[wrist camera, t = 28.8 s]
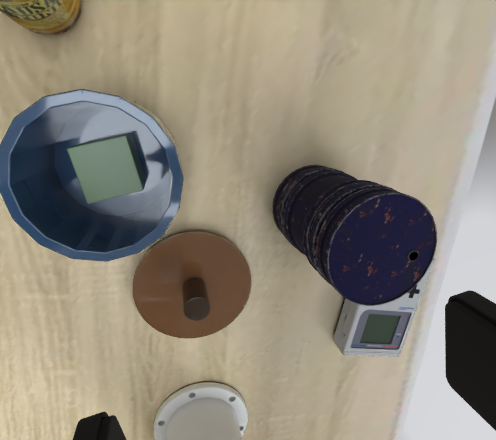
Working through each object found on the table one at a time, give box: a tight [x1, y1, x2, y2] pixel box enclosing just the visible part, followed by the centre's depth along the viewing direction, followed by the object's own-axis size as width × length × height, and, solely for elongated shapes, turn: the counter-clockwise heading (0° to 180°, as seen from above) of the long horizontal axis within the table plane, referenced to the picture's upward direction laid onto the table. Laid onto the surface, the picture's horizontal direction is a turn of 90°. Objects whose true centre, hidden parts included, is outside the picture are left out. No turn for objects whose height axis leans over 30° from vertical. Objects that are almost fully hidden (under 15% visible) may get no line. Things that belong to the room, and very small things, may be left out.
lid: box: [133, 231, 251, 338], centre depth 38 cm, size 14×14×6 cm
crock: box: [0, 89, 183, 261], centre depth 30 cm, size 13×13×10 cm
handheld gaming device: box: [334, 258, 434, 357], centre depth 45 cm, size 9×15×4 cm, turn 168°
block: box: [67, 133, 147, 204], centre depth 32 cm, size 5×5×5 cm
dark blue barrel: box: [273, 165, 437, 306], centre depth 34 cm, size 10×10×15 cm
